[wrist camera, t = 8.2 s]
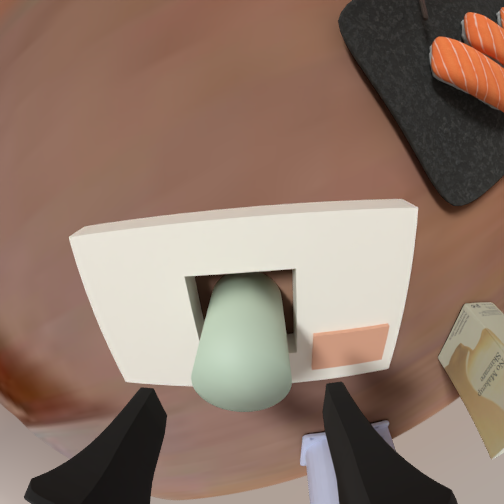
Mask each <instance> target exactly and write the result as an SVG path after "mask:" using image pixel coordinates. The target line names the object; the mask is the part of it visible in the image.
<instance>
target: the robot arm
mask: <svg viewBox="0 0 504 504" xmlns="http://www.w3.org/2000/svg"><path fill="white" fill-rule="evenodd" d="M166 419H167V414H166V412H165V411H164V409H163V407H162V405H161V403H160V401H159V399H158V397H157V395H156V393H155V391H154V389H153V388H140V389H139V390H138V392H137V393H136V394H135V395H134V396H133V398H132V399H131V400H130V401H129V403H128V404H127V405H126V406H125V407H124V409H123V410H122V411H121V412H120V413H119V414H118V416H117V417H116V418H115V419H114V420H113V421H112V422H111V424H110V425H109V426H108V427H107V428H106V429H105V430H104V431H103V432H102V433H101V434H100V435H99V436H98V437H97V438H96V439H95V440H94V441H93V442H92V443H91V444H89V445H88V446H87V447H86V448H85V449H83V450H82V451H81V452H79V453H78V454H77V455H75V456H74V457H73V458H71V459H70V460H68V461H67V462H65V463H63V464H62V465H60V466H58V467H57V468H55V469H53V470H51V471H49V472H47V473H44V474H42V475H40V476H37V477H35V478H32V479H31V481H30V484H29V486H28V488H27V491H26V493H25V496H24V498H25V500H27V501H28V502H30V503H31V504H150V496H151V488H152V480H153V476H154V472H155V468H156V464H157V460H158V457H159V453H160V450H161V446H162V442H163V438H164V434H165V427H166ZM323 419H324V427H325V432H322V433H315V434H307V435H304V436H303V437H302V448H301V458H300V465H302V466H305V465H306V467H307V476H308V486H309V496H310V504H458V503H457V500H456V498H455V496H454V494H453V492H452V490H451V489H449V488H447V487H445V486H443V485H441V484H440V483H437V482H436V481H434V480H433V479H431V478H429V477H428V476H426V475H425V474H423V473H422V472H420V471H419V470H418V469H416V468H415V467H414V466H413V465H411V464H410V463H408V462H407V461H406V460H405V459H404V458H403V457H401V456H400V455H399V454H398V453H397V452H396V450H395V447H394V444H393V441H392V438H391V435H390V432H389V429H388V425H389V421H387V420H385V421H381V422H377V423H372V424H370V423H369V421H368V420H367V419H366V417H365V416H364V415H363V413H362V412H361V411H360V409H359V408H358V406H357V405H356V403H355V402H354V400H353V399H352V397H351V396H350V394H349V392H348V391H347V389H346V387H345V385H344V384H343V383H342V382H336V383H329V384H326V391H325V399H324V405H323Z"/></svg>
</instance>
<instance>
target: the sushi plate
mask: <svg viewBox="0 0 504 504" xmlns="http://www.w3.org/2000/svg"><path fill="white" fill-rule="evenodd" d="M338 23H339V28H340V32H341V34H342V36H343V39H344V41H345V43H346V45H347V47H348V48H349V50H350V52H351V54H352V55H353V57H354V58H355V60H356V61H357V63H358V64H359V66H360V67H361V69H362V70H363V71H364V73H365V74H366V76H367V77H368V79H369V80H370V82H371V83H372V85H373V86H374V88H375V89H376V91H377V92H378V94H379V95H380V97H381V98H382V100H383V101H384V103H385V104H386V106H387V107H388V109H389V110H390V112H391V114H392V115H393V117H394V118H395V120H396V122H397V123H398V125H399V127H400V128H401V130H402V132H403V133H404V135H405V137H406V138H407V140H408V142H409V144H410V145H411V147H412V149H413V151H414V152H415V154H416V156H417V158H418V160H419V161H420V163H421V165H422V167H423V168H424V170H425V172H426V174H427V175H428V177H429V179H430V181H431V182H432V184H433V186H434V187H435V188H436V190H437V191H438V193H439V194H440V195H441V196H442V197H443V198H444V200H445V201H447V202H448V203H450V204H451V205H453V206H462V205H465V204H468V203H470V202H472V201H474V200H475V199H477V198H478V197H480V196H481V195H482V194H484V193H485V192H486V191H487V190H488V189H490V188H491V187H492V186H493V185H494V184H495V183H496V182H497V181H498V180H499V179H500V178H501V177H502V176H503V175H504V0H352V1H351V2H350V3H348V4H347V6H346V7H345V8H344V9H343V11H342V12H341V14H340V17H339V20H338Z"/></svg>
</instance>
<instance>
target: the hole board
mask: <svg viewBox="0 0 504 504" xmlns="http://www.w3.org/2000/svg"><path fill="white" fill-rule="evenodd" d="M417 216H418V207H416V206H414V205H413V204H411V203H409V202H407V201H405V200H403V199H380V200H352V201H330V202H312V203H295V204H281V205H267V206H255V207H243V208H231V209H221V210H210V211H201V212H191V213H182V214H173V215H165V216H156V217H148V218H140V219H133V220H125V221H118V222H111V223H104V224H97V225H91V226H85V227H83V228H82V229H80V230H79V231H77V232H76V233H74V234H73V235H71V236H70V237H69V239H70V243H71V247H72V250H73V253H74V257H75V260H76V263H77V266H78V270H79V273H80V276H81V279H82V282H83V284H84V287H85V290H86V293H87V296H88V298H89V301H90V304H91V306H92V309H93V311H94V314H95V316H96V319H97V321H98V324H99V326H100V328H101V331H102V333H103V335H104V338H105V340H106V342H107V344H108V347H109V349H110V351H111V353H112V355H113V357H114V359H115V361H116V363H117V365H118V367H119V369H120V371H121V373H122V375H123V377H124V379H125V381H126V382H133V383H144V384H157V385H174V386H193V385H192V381H191V374H192V370H193V366H194V362H195V358H196V354H197V350H198V346H199V342H200V338H201V334H202V330H203V326H204V319H203V314H202V310H201V305H200V300H199V296H198V291H197V286H196V281H195V276H201V275H216V274H231V273H245V272H259V271H272V270H285V269H292V274H293V317H294V333H292V334H286V335H287V343H288V351H289V360H290V368H291V377H292V383H296V382H306V381H315V380H323V379H331V378H338V377H345V376H351V375H357V374H363V373H369V372H374V371H379V370H384V369H389V365H390V362H391V359H392V355H393V352H394V348H395V344H396V340H397V336H398V332H399V328H400V324H401V320H402V315H403V311H404V306H405V301H406V296H407V291H408V285H409V280H410V273H411V267H412V260H413V253H414V245H415V237H416V227H417Z"/></svg>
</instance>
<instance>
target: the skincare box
mask: <svg viewBox="0 0 504 504" xmlns="http://www.w3.org/2000/svg"><path fill="white" fill-rule="evenodd" d="M438 359H439V361H440V362H441V364H442V366H443V367H444V369H445V371H446V372H447V374H448V376H449V377H450V379H451V381H452V383H453V384H454V386H455V388H456V390H457V391H458V393H459V395H460V397H461V399H462V401H463V402H464V404H465V406H466V408H467V410H468V412H469V414H470V416H471V418H472V419H473V421H474V424H475V425H476V427H477V429H478V431H479V434H480V436H481V438H482V440H483V442H484V444H485V446H486V449H487V451H488V453H489V455H490V458H491V459H494V458H495V457H498V456H499V455H501V454H503V453H504V314H503V313H502V312H501V311H500V310H499V309H498V308H497V307H496V306H495V305H494V304H493V303H492V302H481V303H467V304H464V306H463V307H462V310H461V312H460V314H459V316H458V318H457V320H456V322H455V324H454V326H453V328H452V331H451V333H450V335H449V337H448V339H447V341H446V343H445V345H444V347H443V348H442V350H441V352H440V354H439V356H438Z"/></svg>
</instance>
